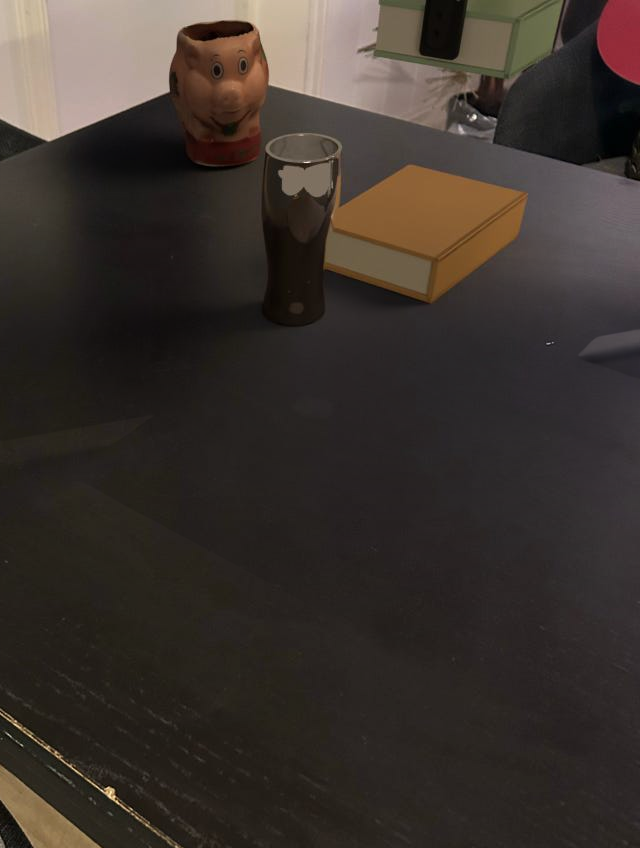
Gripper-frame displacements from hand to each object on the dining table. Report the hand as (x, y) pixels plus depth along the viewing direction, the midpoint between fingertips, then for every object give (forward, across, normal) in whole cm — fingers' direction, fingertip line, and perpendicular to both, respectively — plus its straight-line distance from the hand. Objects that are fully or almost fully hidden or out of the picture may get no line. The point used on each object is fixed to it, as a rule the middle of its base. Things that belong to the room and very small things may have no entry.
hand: (463, 41), depth 74 cm
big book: (+22, +8, +5) cm, 24 cm away
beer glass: (+22, -10, +9) cm, 25 cm away
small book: (+1, 0, 0) cm, 1 cm away
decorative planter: (+22, +19, +40) cm, 49 cm away
